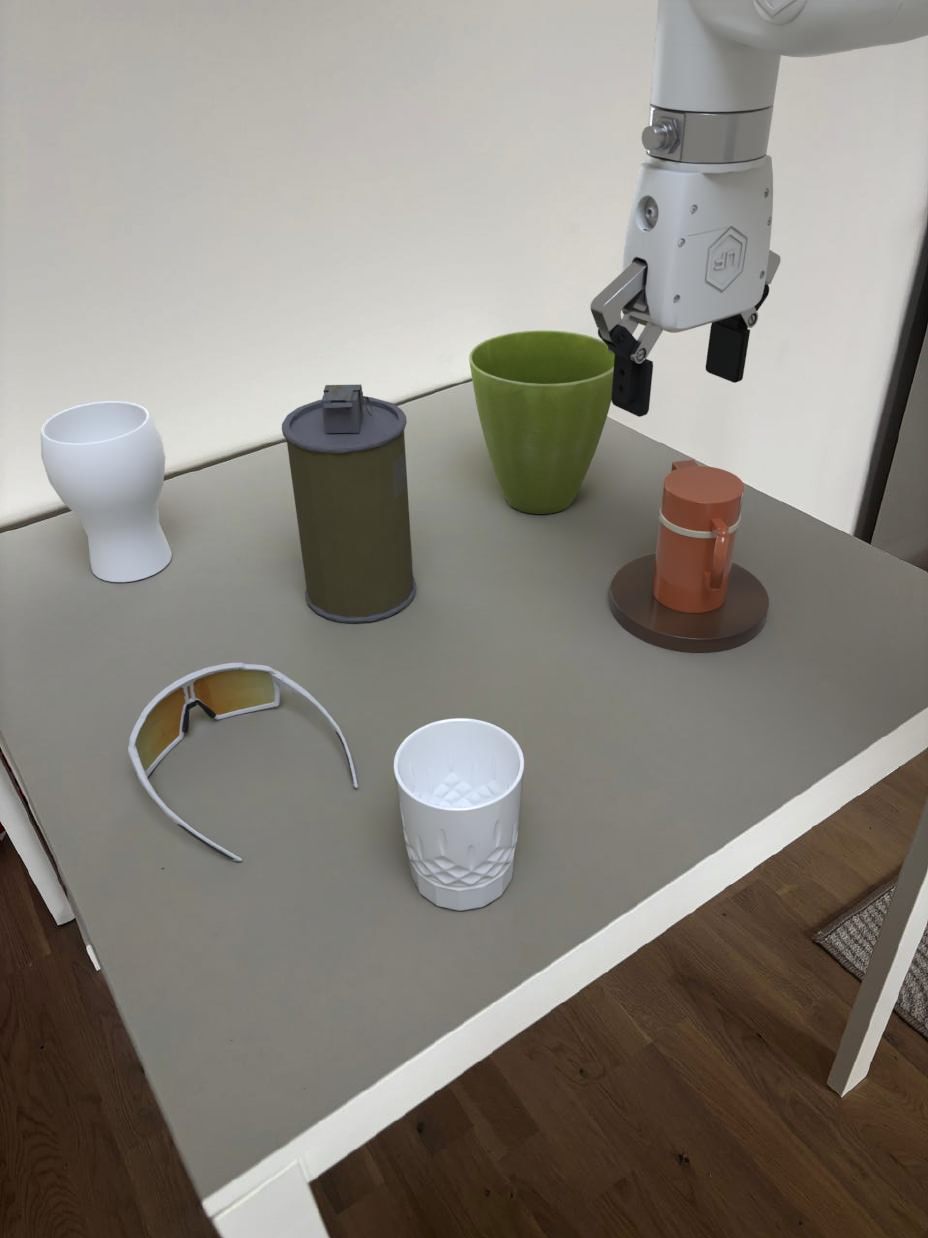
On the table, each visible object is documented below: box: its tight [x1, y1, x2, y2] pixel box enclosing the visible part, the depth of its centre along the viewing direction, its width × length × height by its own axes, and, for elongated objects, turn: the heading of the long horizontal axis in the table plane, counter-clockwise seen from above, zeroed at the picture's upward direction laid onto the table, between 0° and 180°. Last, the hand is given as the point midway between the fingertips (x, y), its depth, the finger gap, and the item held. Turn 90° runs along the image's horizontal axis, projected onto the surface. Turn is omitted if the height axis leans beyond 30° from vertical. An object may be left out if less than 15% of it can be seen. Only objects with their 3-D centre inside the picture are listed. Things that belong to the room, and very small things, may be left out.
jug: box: [652, 459, 745, 613], centre depth 84 cm, size 10×7×11 cm, turn 9°
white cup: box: [393, 717, 525, 912], centre depth 61 cm, size 8×8×10 cm
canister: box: [281, 384, 417, 624], centre depth 86 cm, size 11×10×20 cm
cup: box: [40, 400, 173, 583], centre depth 92 cm, size 11×11×15 cm
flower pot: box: [468, 329, 615, 515], centre depth 101 cm, size 15×15×16 cm
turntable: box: [609, 553, 770, 654], centre depth 88 cm, size 14×14×2 cm
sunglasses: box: [127, 662, 359, 862], centre depth 71 cm, size 14×15×5 cm
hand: (677, 392), depth 71 cm, fingers open, 9 cm apart
